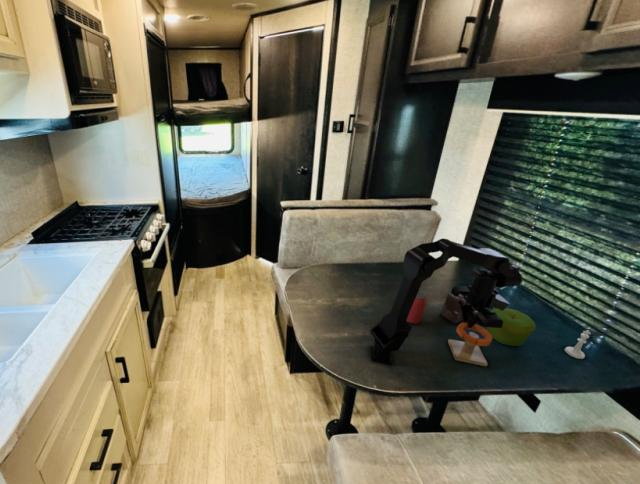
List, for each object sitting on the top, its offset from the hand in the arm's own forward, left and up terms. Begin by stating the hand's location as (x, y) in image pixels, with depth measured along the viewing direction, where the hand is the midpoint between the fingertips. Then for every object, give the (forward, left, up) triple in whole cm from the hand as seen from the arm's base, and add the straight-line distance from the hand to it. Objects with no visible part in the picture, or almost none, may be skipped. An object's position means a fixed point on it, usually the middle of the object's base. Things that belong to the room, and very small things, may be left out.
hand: (467, 325), depth 106 cm
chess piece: (+7, -36, -9) cm, 38 cm away
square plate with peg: (-4, -1, -9) cm, 10 cm away
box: (+15, -1, -9) cm, 18 cm away
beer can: (+10, +14, -9) cm, 20 cm away
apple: (+8, -16, -9) cm, 20 cm away
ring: (-4, -1, -1) cm, 4 cm away
